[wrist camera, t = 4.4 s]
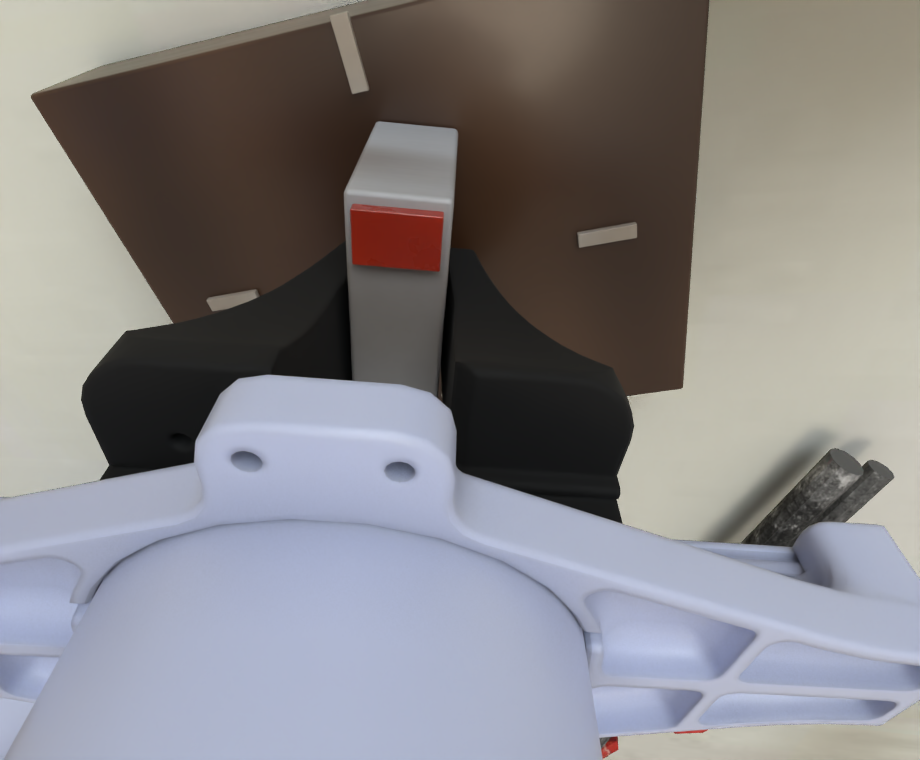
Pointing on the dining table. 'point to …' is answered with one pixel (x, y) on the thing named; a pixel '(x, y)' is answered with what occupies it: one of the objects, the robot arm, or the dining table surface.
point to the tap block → (428, 104)
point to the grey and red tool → (811, 511)
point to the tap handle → (400, 253)
